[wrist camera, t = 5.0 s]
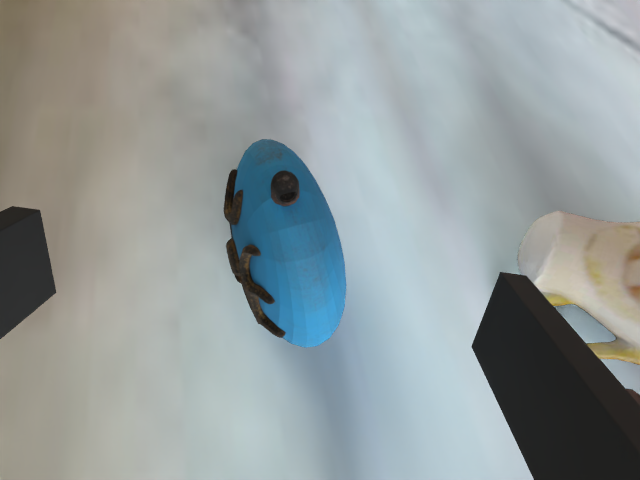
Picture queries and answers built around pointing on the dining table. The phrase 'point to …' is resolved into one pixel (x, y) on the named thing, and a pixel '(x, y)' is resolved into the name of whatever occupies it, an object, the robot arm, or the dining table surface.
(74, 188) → the dining table surface
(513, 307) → the robot arm
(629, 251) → the mug
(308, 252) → the ornament
